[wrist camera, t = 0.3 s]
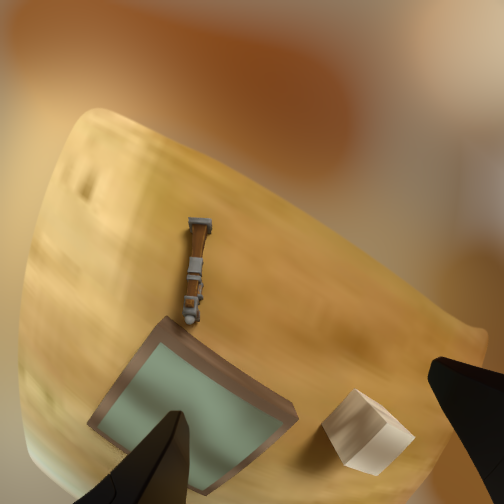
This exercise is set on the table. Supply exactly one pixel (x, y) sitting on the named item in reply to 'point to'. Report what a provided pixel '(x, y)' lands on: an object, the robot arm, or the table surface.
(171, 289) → the table surface
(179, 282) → the table surface
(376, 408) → the maple block
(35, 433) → the table surface
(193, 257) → the grey brown jointed piece
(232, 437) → the brown and green tray
